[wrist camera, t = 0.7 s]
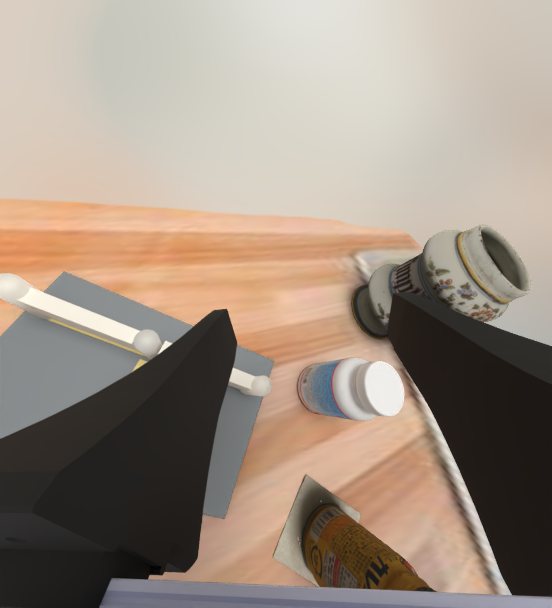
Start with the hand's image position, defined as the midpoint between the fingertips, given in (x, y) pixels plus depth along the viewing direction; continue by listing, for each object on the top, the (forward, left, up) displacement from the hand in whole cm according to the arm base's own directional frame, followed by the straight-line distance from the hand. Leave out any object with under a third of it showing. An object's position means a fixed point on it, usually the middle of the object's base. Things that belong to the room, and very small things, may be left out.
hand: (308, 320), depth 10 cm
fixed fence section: (-2, +13, -18) cm, 22 cm away
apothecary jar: (+17, -20, -19) cm, 32 cm away
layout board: (-6, +7, -18) cm, 21 cm away
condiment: (-13, -16, -19) cm, 28 cm away
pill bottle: (+1, -12, -19) cm, 22 cm away
